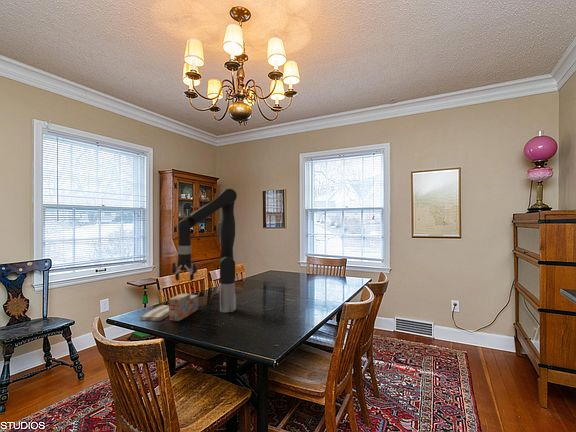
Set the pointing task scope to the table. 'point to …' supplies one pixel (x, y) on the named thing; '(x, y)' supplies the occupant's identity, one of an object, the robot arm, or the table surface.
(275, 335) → the table surface
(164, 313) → the birch board
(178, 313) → the stack of blocks
